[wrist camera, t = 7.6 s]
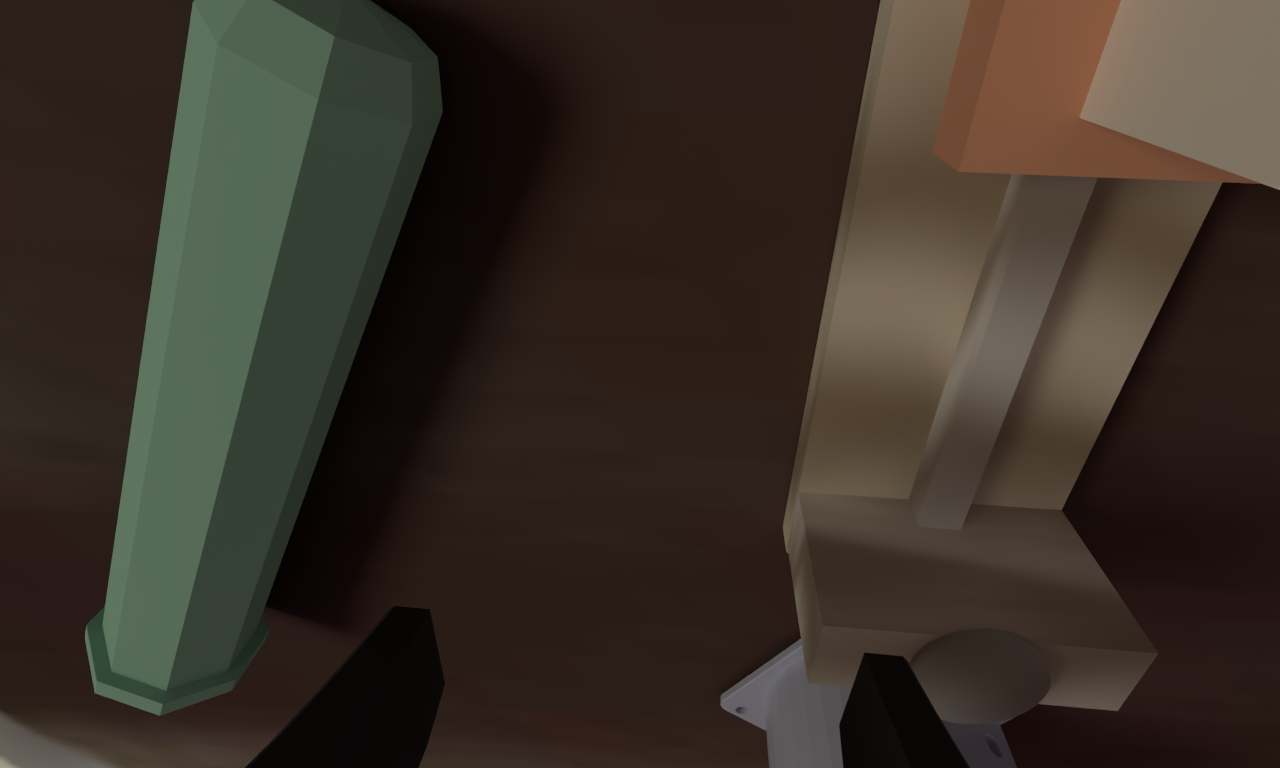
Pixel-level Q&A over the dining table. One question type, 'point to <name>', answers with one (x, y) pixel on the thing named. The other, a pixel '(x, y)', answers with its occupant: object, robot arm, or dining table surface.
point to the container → (253, 321)
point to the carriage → (1117, 90)
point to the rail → (970, 403)
